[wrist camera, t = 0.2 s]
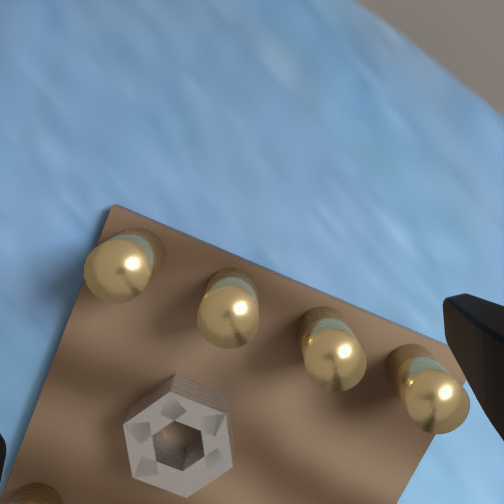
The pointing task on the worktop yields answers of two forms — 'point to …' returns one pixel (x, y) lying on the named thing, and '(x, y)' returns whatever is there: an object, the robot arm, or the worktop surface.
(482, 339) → the robot arm
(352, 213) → the worktop surface
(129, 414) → the steel nut
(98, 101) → the worktop surface
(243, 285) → the brass spacers
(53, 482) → the board
